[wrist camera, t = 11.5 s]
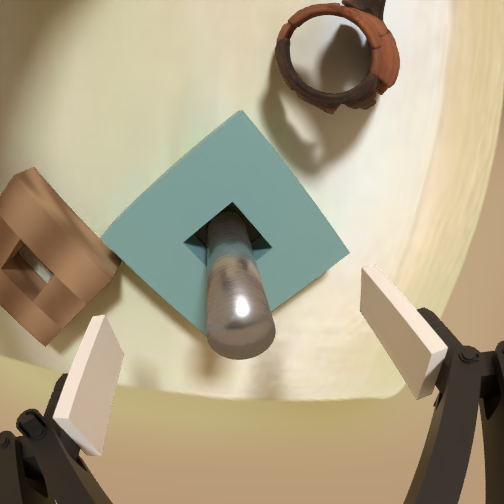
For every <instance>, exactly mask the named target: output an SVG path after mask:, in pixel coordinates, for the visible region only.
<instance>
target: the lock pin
mask: <svg viewBox="0 0 504 504" xmlns="http://www.w3.org/2000/svg"><path fill="white" fill-rule="evenodd" d="M275 332H276V331H275V325H274V321H273V318H272V315H271V311H270V308H269V304H268V301H267V298H266V294H265V291H264V287H263V284H262V281H261V277H260V274H259V270H258V267H257V264H256V260H255V257H254V254H253V250H252V247H251V243H250V240H249V237H248V233H247V230H246V226H245V223H244V221H243V219H242V218H241V217H240V216H239V215H237V214H235V213H233V212H221V213H219V214H217V215H215V216H214V217H213V218H212V219H211V221H210V222H209V225H208V246H207V338H208V342H209V344H210V346H211V347H212V349H213V350H214V351H215V352H217V353H218V354H219V355H221V356H223V357H226V358H229V359H236V360H243V359H249V358H252V357H255V356H258V355H260V354H261V353H263V352H264V351H266V350H267V349H268V348H269V347H270V345H271V344H272V342H273V340H274V338H275Z"/></svg>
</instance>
